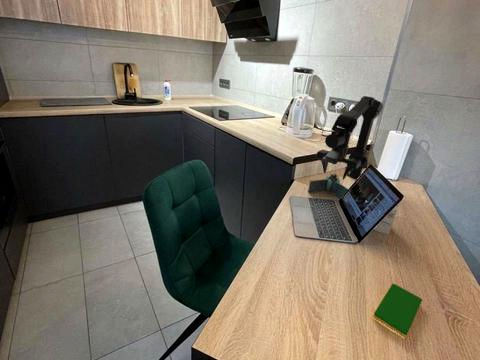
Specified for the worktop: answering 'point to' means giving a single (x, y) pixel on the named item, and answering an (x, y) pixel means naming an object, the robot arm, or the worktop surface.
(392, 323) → the dish sponge
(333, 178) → the hinge pin
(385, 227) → the light bulb box
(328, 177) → the hinge
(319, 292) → the worktop surface
